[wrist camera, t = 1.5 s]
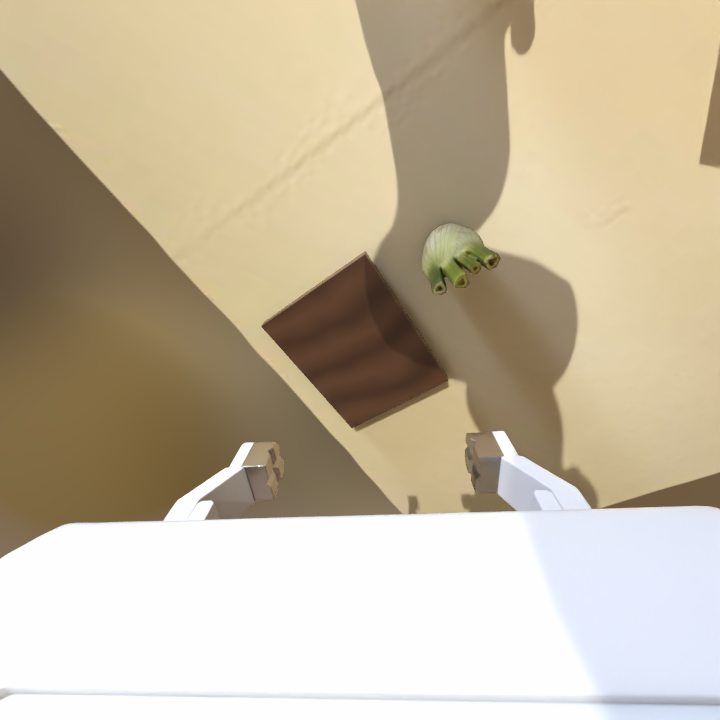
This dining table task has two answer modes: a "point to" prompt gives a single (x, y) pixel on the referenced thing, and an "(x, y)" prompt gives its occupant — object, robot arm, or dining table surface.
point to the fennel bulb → (454, 256)
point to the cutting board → (356, 343)
